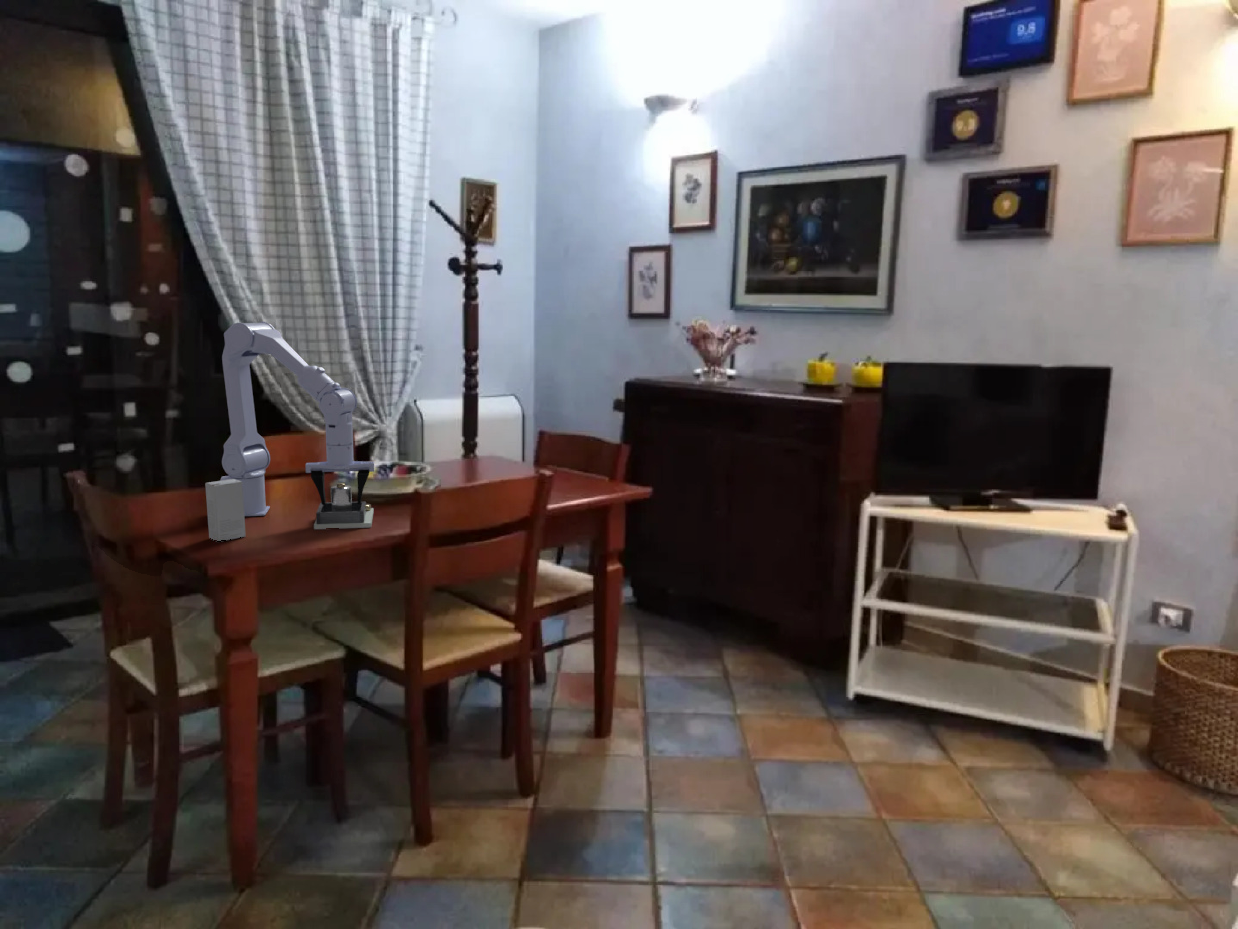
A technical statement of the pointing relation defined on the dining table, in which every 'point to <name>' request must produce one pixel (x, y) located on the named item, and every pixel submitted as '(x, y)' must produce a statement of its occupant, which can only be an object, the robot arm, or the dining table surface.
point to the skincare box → (225, 509)
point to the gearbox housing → (344, 516)
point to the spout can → (341, 498)
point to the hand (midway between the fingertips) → (341, 503)
